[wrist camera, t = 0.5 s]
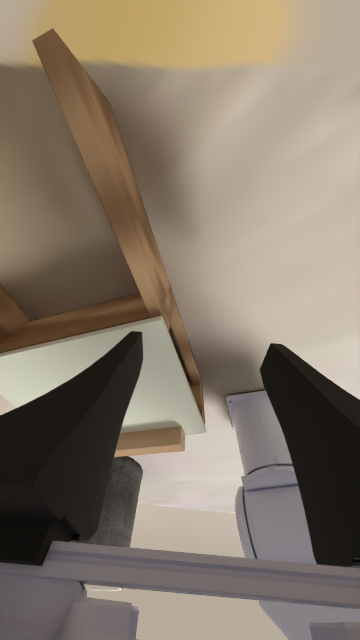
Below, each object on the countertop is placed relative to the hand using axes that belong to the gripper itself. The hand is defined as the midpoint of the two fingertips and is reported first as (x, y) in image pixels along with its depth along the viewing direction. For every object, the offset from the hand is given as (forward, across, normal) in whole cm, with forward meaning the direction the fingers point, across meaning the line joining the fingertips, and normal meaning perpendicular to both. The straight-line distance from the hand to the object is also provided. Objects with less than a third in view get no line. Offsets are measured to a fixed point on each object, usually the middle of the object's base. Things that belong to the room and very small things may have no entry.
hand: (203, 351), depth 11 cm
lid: (+4, +9, +10) cm, 14 cm away
